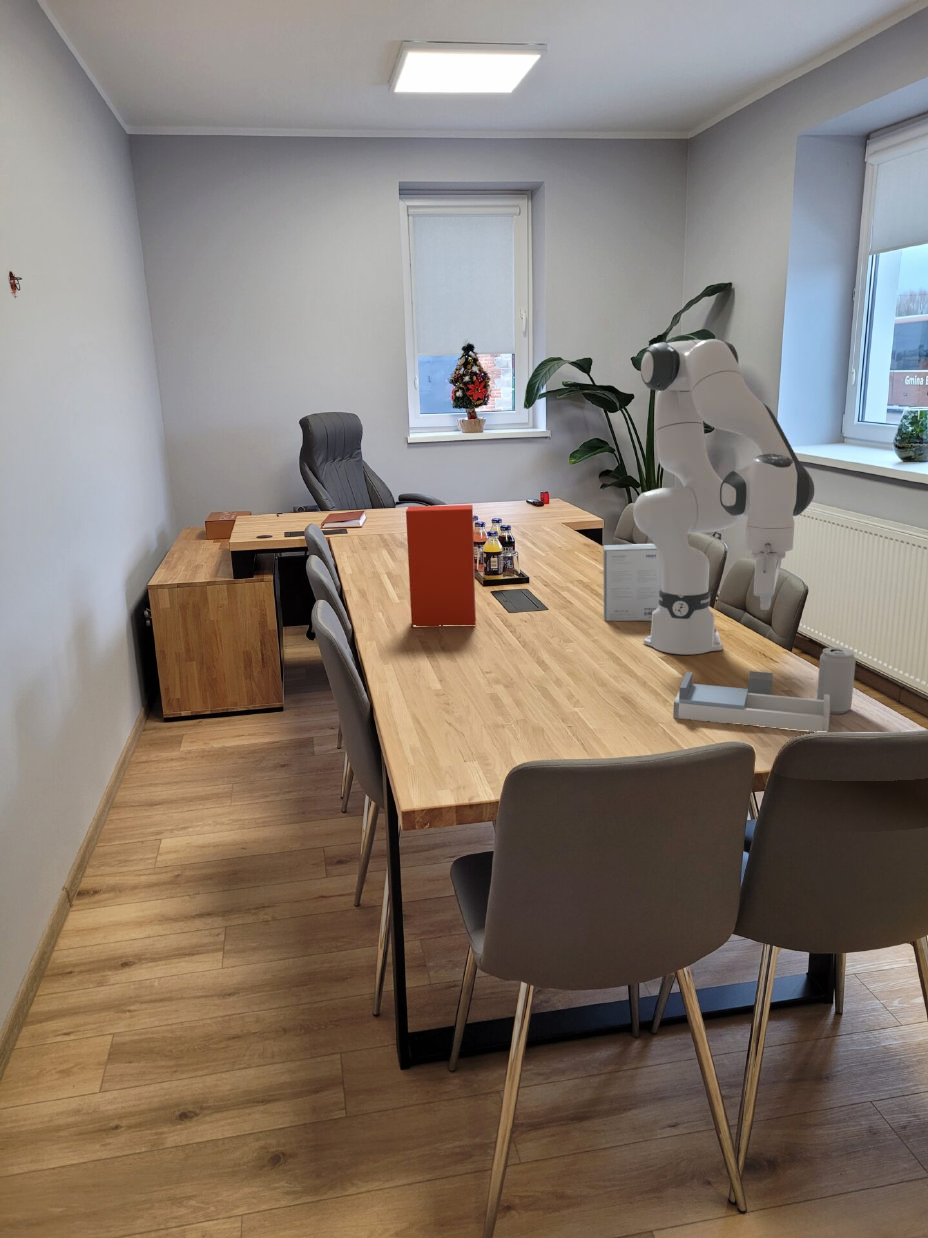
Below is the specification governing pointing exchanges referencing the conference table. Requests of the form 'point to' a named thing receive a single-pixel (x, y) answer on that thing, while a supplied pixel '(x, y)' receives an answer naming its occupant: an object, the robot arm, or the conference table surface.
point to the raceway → (764, 712)
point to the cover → (711, 694)
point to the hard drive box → (631, 581)
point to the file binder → (441, 565)
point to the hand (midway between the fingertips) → (765, 608)
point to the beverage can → (836, 678)
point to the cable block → (760, 683)
